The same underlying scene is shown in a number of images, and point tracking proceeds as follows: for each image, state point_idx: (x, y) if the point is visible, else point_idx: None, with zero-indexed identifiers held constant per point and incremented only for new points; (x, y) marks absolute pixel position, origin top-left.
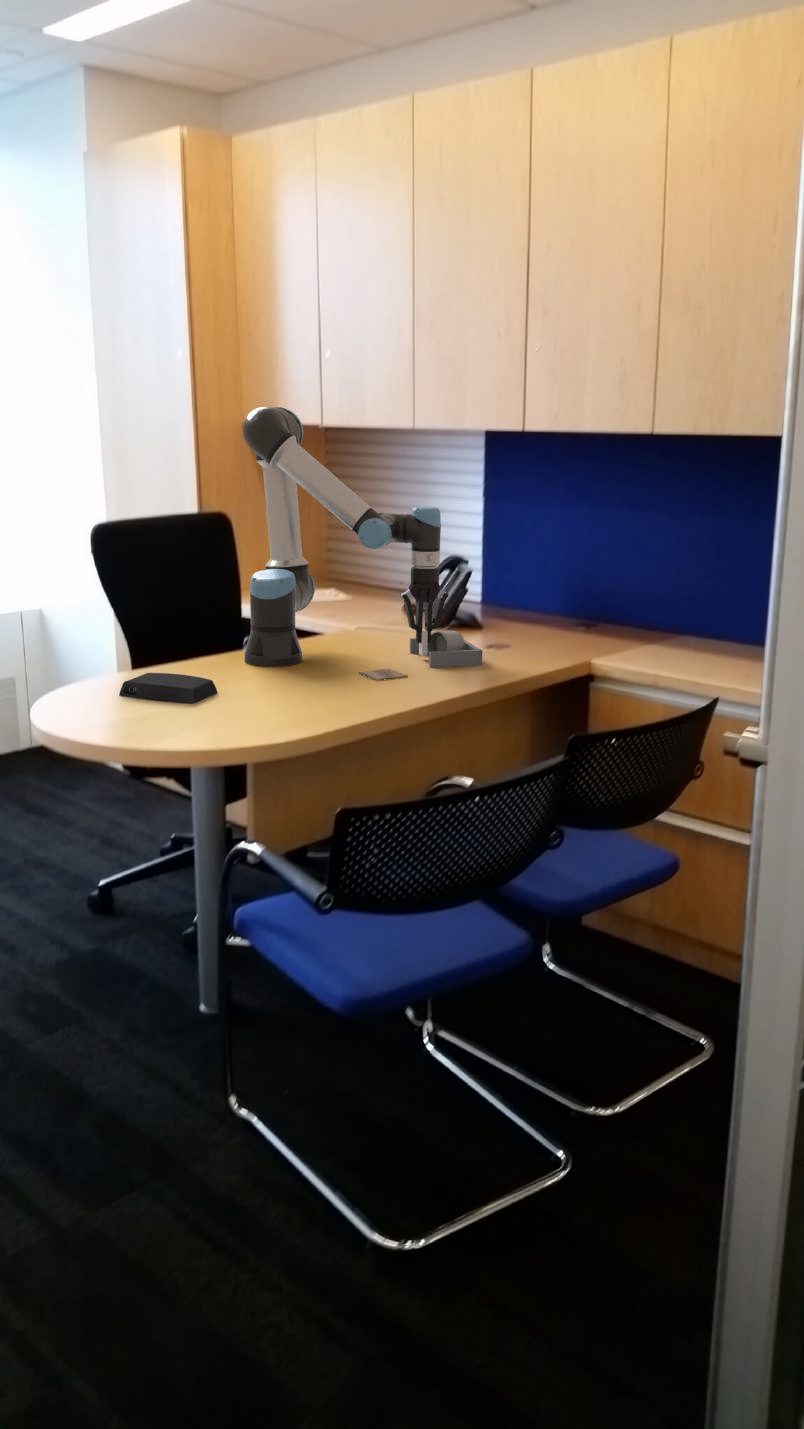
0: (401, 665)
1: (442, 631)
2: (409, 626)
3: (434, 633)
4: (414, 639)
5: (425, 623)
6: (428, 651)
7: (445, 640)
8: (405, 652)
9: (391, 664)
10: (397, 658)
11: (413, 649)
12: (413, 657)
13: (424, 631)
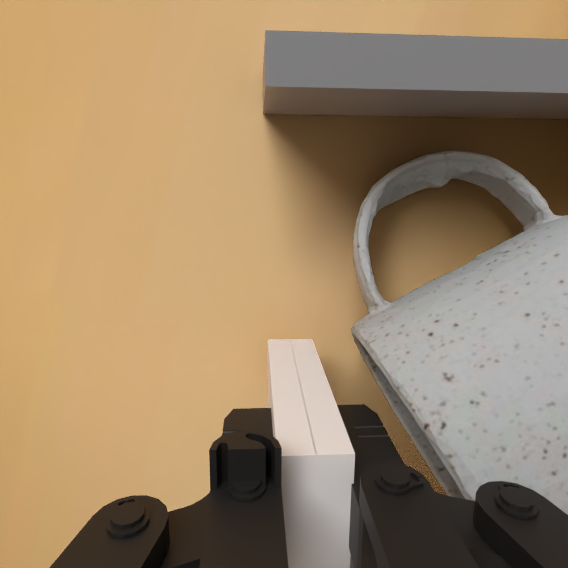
0: (88, 501)
1: (564, 504)
2: (98, 517)
3: (458, 467)
4: (305, 89)
5: (378, 566)
6: (354, 336)
7: None
8: (229, 57)
9: (22, 464)
10: (107, 280)
11: (288, 108)
12: (242, 268)
13: (312, 558)
